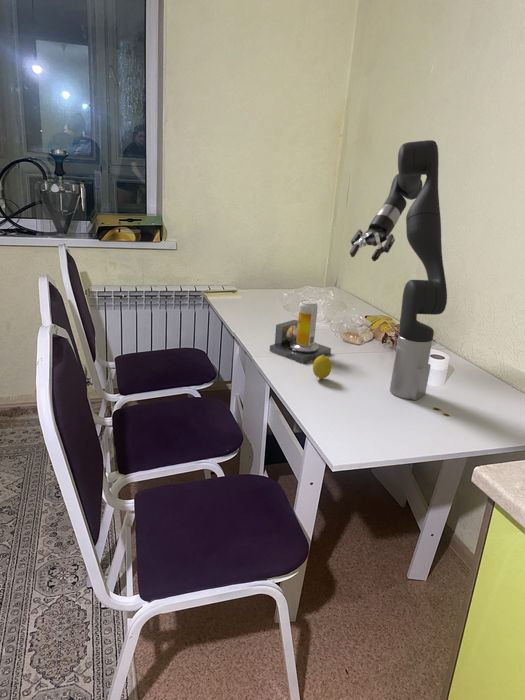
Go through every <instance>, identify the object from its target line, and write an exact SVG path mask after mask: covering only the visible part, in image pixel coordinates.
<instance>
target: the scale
mask: <svg viewBox="0 0 525 700" xmlns="http://www.w3.org/2000/svg"><path fill="white" fill-rule="evenodd" d="M297 327H298V319H291V320H288V321H285V322H281V323H278V324H275V333H274V343H273V344H269V352H271V353H274V354H277V355H279V356H282V357H284V358H287V359H290V360H292V361H294V360H295V361H294V362H296V363H297V362H298V363H301V364H302V363H303V364H306V362H307V363H309V362H312V361H315V360H314V359H316V358H317V357H318V356H321V355H325V356H328V355H331V352H332V348H331V347H329V346H326V345H323V344H320V343H317V344H318V345H319V349H318V350H317V351H315V352H309V353H306V352H298V351H295V350H292V349H291V348H290V347H289V345H290V342H291V341H294V340H296V338H297ZM311 360H312V361H311Z"/></svg>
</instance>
